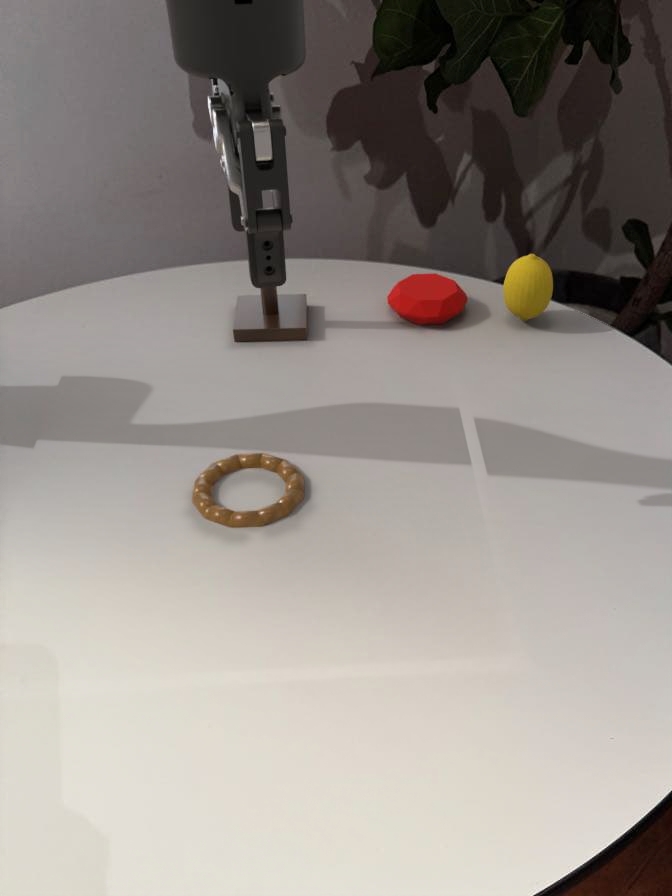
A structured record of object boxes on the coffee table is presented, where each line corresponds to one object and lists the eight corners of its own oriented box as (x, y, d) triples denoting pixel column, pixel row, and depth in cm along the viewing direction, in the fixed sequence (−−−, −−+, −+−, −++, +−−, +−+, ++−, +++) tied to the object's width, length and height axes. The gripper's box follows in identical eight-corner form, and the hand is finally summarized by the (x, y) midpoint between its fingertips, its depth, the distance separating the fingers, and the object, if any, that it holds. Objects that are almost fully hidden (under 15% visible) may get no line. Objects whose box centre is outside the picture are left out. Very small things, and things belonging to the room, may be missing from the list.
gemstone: (412, 336, 98) (412, 312, 96) (375, 302, 103) (375, 278, 101) (479, 318, 101) (481, 294, 99) (440, 286, 107) (441, 263, 105)
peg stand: (234, 341, 96) (221, 241, 88) (238, 307, 102) (226, 209, 94) (307, 339, 97) (300, 239, 89) (307, 305, 103) (300, 208, 95)
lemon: (547, 310, 103) (556, 245, 97) (548, 334, 99) (558, 267, 93) (500, 307, 103) (507, 242, 98) (499, 330, 99) (506, 264, 93)
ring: (189, 536, 73) (186, 522, 72) (199, 465, 80) (197, 451, 79) (304, 531, 73) (303, 517, 72) (304, 461, 81) (303, 447, 79)
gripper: (151, -55, 51) (190, 217, 62) (173, 1, 41) (214, 313, 52) (278, -57, 53) (293, 208, 64) (328, -4, 43) (336, 299, 54)
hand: (258, 255), depth 58 cm, fingers open, 8 cm apart
